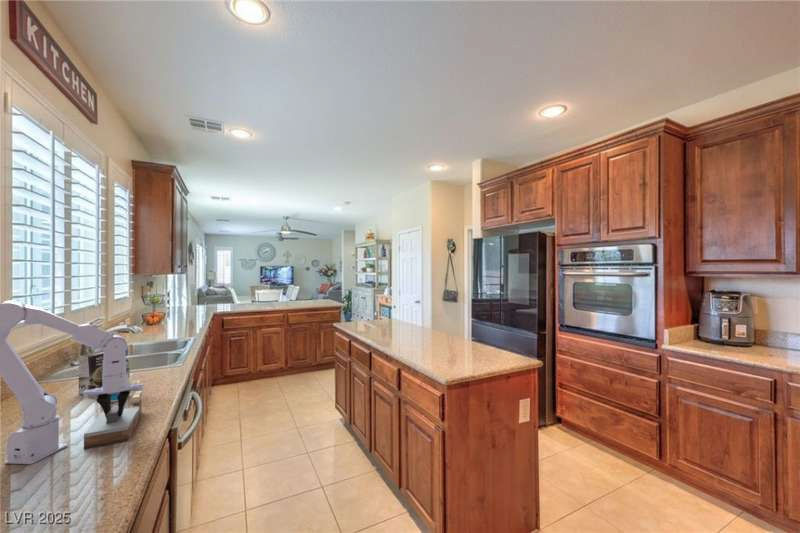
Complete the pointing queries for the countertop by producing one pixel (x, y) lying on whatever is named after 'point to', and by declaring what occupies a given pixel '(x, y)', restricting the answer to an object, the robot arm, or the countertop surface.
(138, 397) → the block
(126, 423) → the lid
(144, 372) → the countertop surface
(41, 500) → the countertop surface
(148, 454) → the countertop surface
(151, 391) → the countertop surface
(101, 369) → the coffee box
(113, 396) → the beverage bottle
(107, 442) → the brown angular frame
